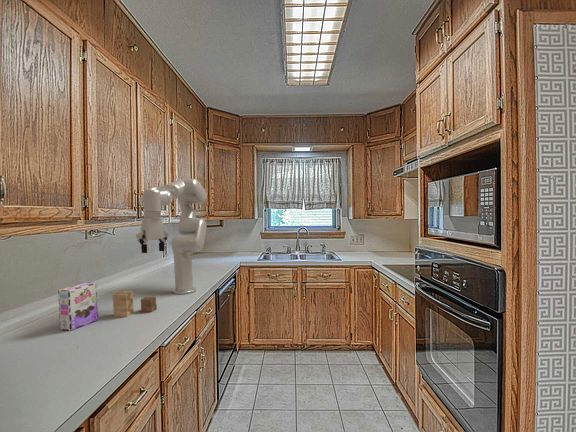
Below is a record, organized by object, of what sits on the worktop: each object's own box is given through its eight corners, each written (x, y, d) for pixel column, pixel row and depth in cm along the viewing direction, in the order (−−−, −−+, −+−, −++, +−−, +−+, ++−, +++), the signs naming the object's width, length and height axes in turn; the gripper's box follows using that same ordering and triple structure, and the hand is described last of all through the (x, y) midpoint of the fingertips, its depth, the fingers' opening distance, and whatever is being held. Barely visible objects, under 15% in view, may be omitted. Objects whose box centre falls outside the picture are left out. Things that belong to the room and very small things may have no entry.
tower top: (120, 302, 169) (119, 291, 169) (133, 302, 168) (132, 291, 168) (113, 306, 163) (112, 294, 163) (126, 305, 162) (125, 294, 162)
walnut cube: (146, 309, 174) (145, 296, 174) (156, 309, 173) (156, 296, 173) (141, 312, 169) (140, 299, 169) (152, 312, 168) (151, 299, 168)
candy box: (70, 331, 146) (68, 290, 146) (59, 330, 148) (57, 289, 147) (98, 320, 159) (96, 282, 159) (88, 319, 161) (86, 282, 161)
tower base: (120, 313, 169) (120, 302, 169) (133, 312, 169) (133, 302, 168) (113, 317, 163) (113, 306, 163) (127, 317, 163) (126, 305, 162)
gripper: (162, 215, 184) (163, 250, 183) (131, 216, 169) (132, 253, 169) (172, 215, 180) (173, 250, 179) (141, 215, 165) (142, 253, 165)
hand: (153, 252), depth 174 cm, fingers open, 9 cm apart
